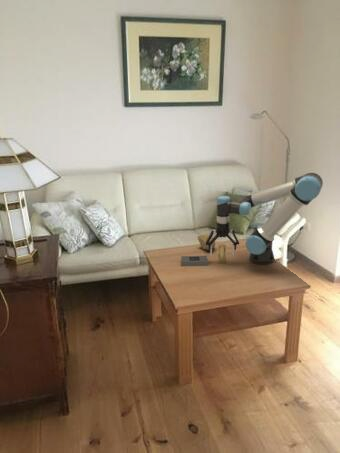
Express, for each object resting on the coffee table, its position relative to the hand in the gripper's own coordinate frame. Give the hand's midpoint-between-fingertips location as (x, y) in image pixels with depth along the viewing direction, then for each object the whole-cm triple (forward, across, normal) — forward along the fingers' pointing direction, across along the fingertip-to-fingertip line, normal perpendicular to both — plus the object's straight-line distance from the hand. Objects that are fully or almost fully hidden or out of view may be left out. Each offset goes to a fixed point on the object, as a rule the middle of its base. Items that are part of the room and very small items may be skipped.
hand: (222, 255), depth 222 cm
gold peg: (+5, 0, 0) cm, 5 cm away
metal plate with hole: (+5, +17, 0) cm, 18 cm away
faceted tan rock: (+5, +7, -20) cm, 22 cm away
